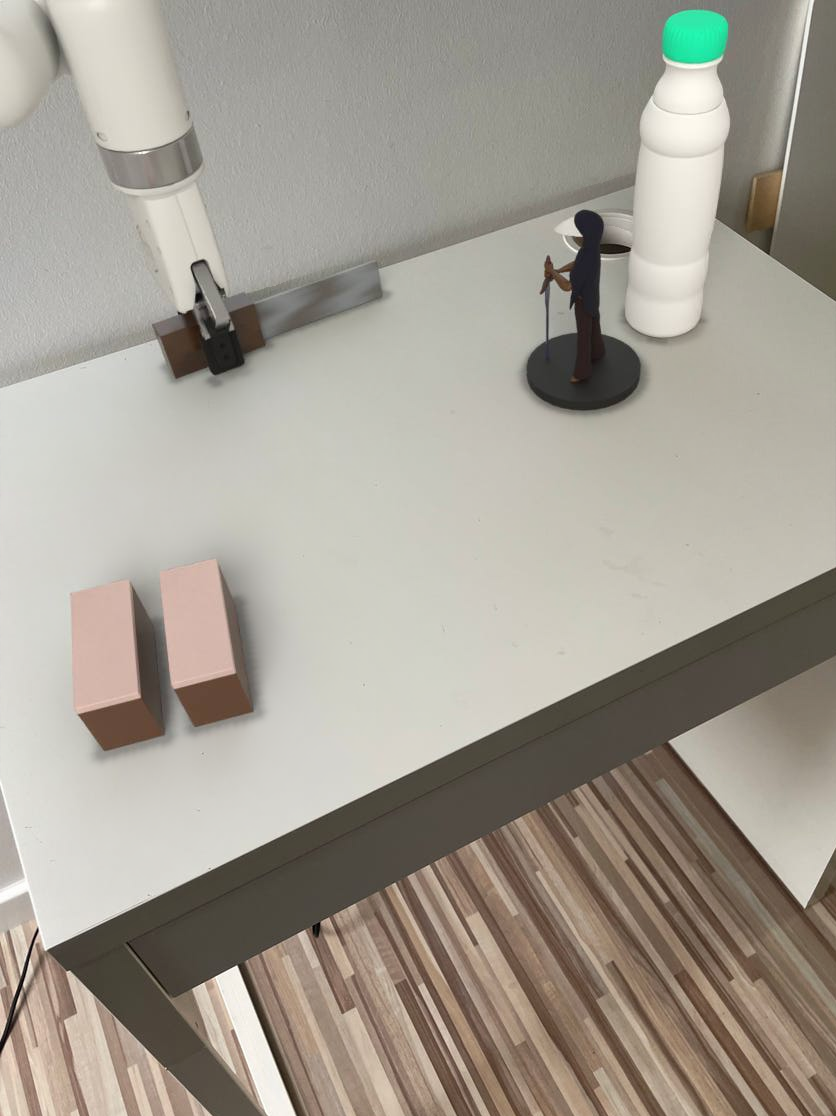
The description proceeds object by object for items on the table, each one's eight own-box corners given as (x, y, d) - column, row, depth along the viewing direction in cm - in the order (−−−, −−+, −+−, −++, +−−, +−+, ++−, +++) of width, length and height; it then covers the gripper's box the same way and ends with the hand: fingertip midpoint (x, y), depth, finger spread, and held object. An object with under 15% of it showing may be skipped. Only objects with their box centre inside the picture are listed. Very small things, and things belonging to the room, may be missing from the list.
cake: (98, 638, 68) (70, 592, 64) (235, 604, 69) (216, 557, 65) (103, 752, 62) (73, 709, 58) (253, 712, 63) (234, 667, 59)
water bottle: (679, 349, 85) (721, 44, 65) (610, 327, 87) (631, 27, 68) (712, 310, 88) (762, 8, 69) (645, 290, 91) (674, -6, 71)
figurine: (552, 331, 88) (554, 170, 76) (655, 354, 85) (674, 191, 73) (508, 394, 82) (503, 231, 70) (616, 421, 79) (629, 256, 67)
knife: (175, 379, 86) (160, 336, 82) (167, 365, 87) (151, 323, 84) (387, 301, 92) (381, 258, 89) (376, 289, 93) (370, 247, 90)
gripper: (75, 127, 77) (148, 319, 91) (139, 214, 67) (209, 413, 82) (162, 102, 79) (220, 294, 93) (236, 184, 70) (287, 383, 84)
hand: (214, 348), depth 87 cm, fingers open, 6 cm apart
